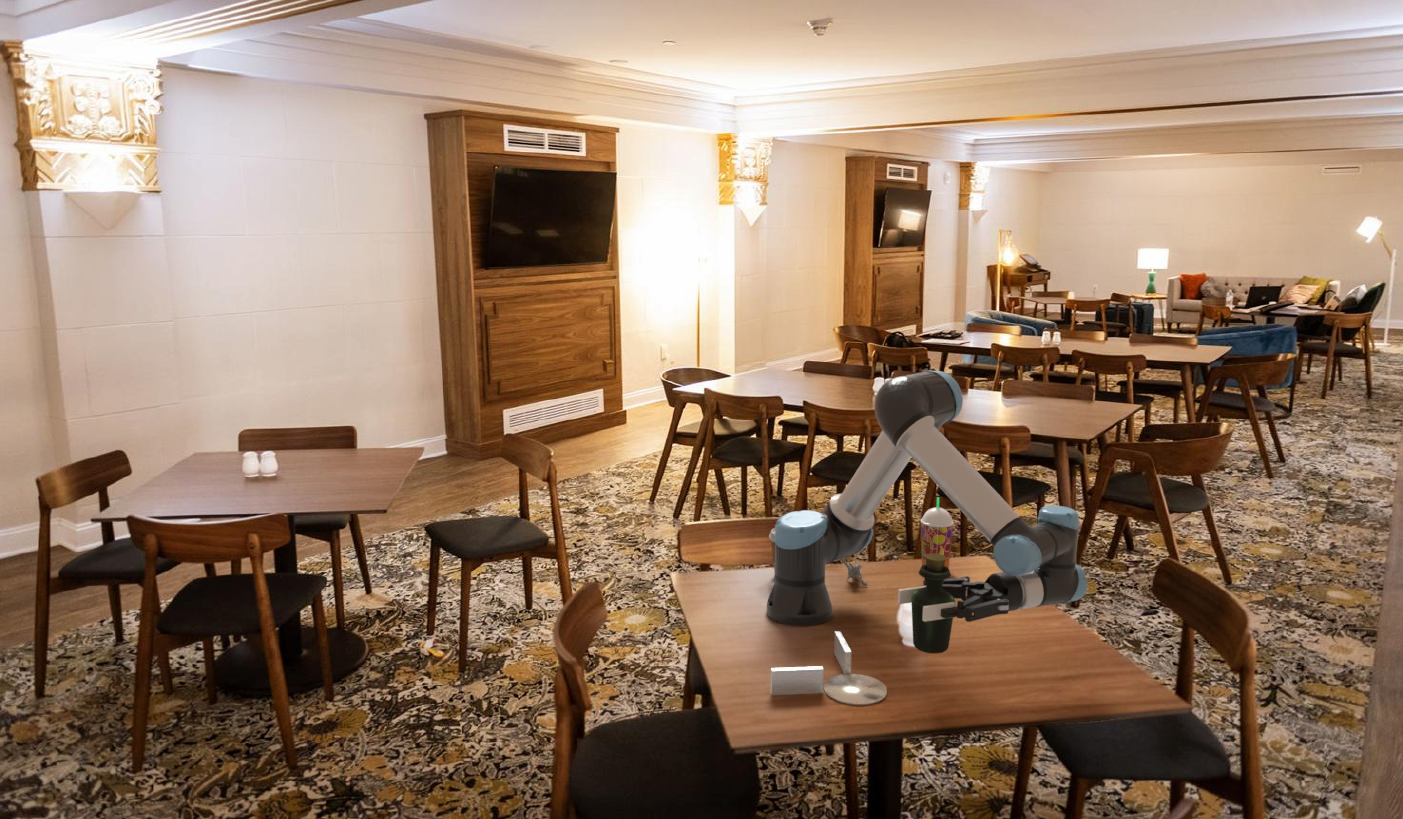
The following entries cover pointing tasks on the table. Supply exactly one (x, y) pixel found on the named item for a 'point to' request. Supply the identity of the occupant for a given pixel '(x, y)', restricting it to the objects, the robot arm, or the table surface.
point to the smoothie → (936, 533)
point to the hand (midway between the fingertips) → (911, 605)
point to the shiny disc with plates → (838, 688)
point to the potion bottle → (933, 632)
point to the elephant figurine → (854, 571)
